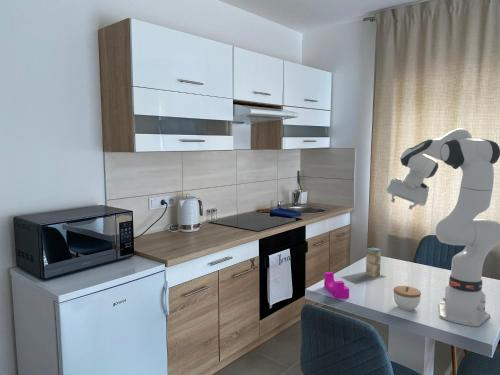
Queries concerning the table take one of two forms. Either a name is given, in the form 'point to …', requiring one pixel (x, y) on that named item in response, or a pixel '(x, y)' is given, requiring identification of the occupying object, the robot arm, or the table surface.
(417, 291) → the lidded jar
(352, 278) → the mat
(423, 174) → the robot arm
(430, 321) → the table surface
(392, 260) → the table surface
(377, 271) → the tall block
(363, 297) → the table surface
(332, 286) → the toy block
